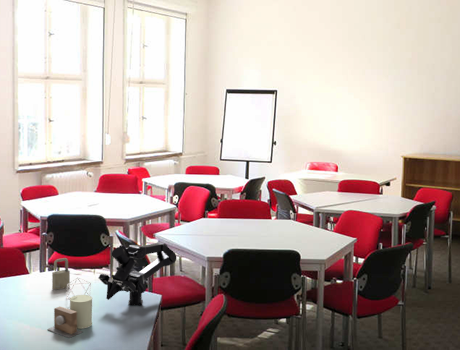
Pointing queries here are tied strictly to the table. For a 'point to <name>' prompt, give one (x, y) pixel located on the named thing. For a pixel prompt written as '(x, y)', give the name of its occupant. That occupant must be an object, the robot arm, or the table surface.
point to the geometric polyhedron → (79, 283)
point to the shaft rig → (65, 322)
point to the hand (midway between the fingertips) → (107, 299)
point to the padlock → (60, 276)
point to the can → (82, 310)
